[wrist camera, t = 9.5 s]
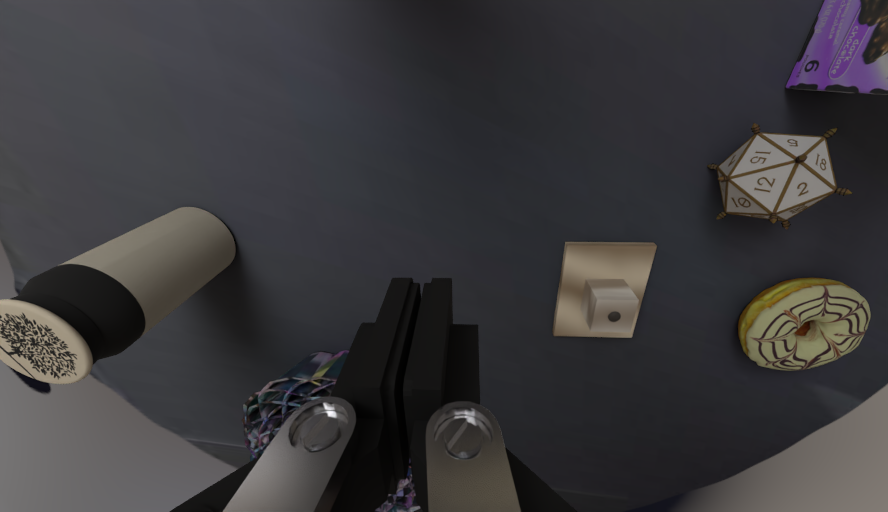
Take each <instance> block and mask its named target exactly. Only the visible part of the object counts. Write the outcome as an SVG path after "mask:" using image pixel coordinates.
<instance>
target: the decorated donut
mask: <svg viewBox="0 0 888 512" xmlns="http://www.w3.org/2000/svg"><path fill="white" fill-rule="evenodd" d="M870 317H871V315H870V309H869V305H868V303H867V301H866V300H865V298H863V297H862V296H861V295H860V294H859V293H858V292H857V291H855V290H854V289H852V288H850V287H849V286H847V285H845V284H844V283H841V282H839V281H835V280H830V279H824V278H797V279H793V280H786V281H783V282H780V283H778V284H776V285H775V286H772V287H771V288H768V289H765V290H764V291H762V292H761V293H759V295H757V296H756V297H754V298H753V300H752V301H751V302H750V303H749V304H748V305H747V306H746V308H745V309H744V311H743V312H742V314H741V316H740V319H739V323H738V335H739V339H740V342H741V345H742V347H743V351H744V352H745V354H746V355H747V356H748V357H749V358H750V359H751V360H753V361H756V362H757V365H759V366H762V367H767V368H772V369H778V370H804V369H809V368H813V367H817V366H821V365H824V364H827V363H829V362H832V361H834V360H837V359H838V358H840V357H841V356H843V355H845V354H847V353H849V352H851V351H852V350H854V349H855V348H856V347H857V346H858V345H859V343H860V341H861V339H862V338H863V336H864V333H865V332H866V330H867V326H868V323H869V320H870Z"/></svg>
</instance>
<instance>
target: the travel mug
mask: <svg viewBox="0 0 888 512" xmlns="http://www.w3.org/2000/svg"><path fill="white" fill-rule="evenodd" d="M235 252H236V248H235V242H234V239H233V237H232V235H231V233H230V231H229V230H228V228H227V227H226V226H225V225H224V223H223V222H222V221H220V220H219V219H218V218H217V217H215V216H214V215H212V214H211V213H209V212H207V211H205V210H202V209H199V208H194V207H182V208H178V209H176V210H174V211H172V212H170V213H168V214H166V215H163V216H161V217H159V218H157V219H155V220H153V221H151V222H149V223H147V224H145V225H142V226H140V227H138V228H136V229H134V230H132V231H130V232H128V233H126V234H124V235H121V236H119V237H117V238H115V239H113V240H111V241H109V242H107V243H105V244H103V245H100V246H98V247H96V248H94V249H92V250H90V251H88V252H86V253H84V254H82V255H79V256H77V257H75V258H73V259H71V260H69V261H67V262H65V263H63V264H61V265H58V266H56V267H54V268H52V269H50V270H48V271H46V272H44V273H42V274H40V275H37V276H35V277H33V278H32V279H30V280H29V281H28V282H27V284H26V285H25V287H24V288H23V290H22V291H21V293H20V294H19V295H18V296H17V297H14V298H11V299H8V300H7V299H3V300H0V360H2V361H3V362H4V363H6V364H7V365H8V366H10V367H12V368H13V369H15V370H17V371H18V372H20V373H22V374H24V375H27V376H29V377H31V378H34V379H37V380H40V381H43V382H48V383H54V384H70V383H75V382H78V381H80V380H82V379H83V378H85V377H86V376H87V375H88V374H89V373H90V371H91V369H92V365H93V364H94V363H95V362H96V361H97V360H99V359H102V358H106V357H110V356H114V355H117V354H119V353H121V352H122V351H124V350H125V349H126V348H128V347H129V346H130V345H131V344H132V343H134V342H135V341H136V340H137V339H139V338H140V337H141V336H142V335H144V334H145V333H146V332H147V331H149V330H150V329H151V328H152V327H153V326H155V325H156V324H157V323H158V322H160V321H161V320H162V319H163V318H165V317H166V316H167V315H168V314H170V313H171V312H172V311H173V310H174V309H176V308H177V307H178V306H179V305H181V304H182V303H183V302H184V301H186V300H187V299H188V298H189V297H191V296H192V295H193V294H194V293H195V292H197V291H198V290H199V289H200V288H202V287H203V286H204V285H205V284H207V283H208V282H209V281H210V280H212V279H213V278H214V277H215V276H216V275H218V274H219V273H220V272H221V271H223V270H224V269H225V268H226V267H228V266H229V265H230V264H231V263H232V261H233V259H234V257H235Z"/></svg>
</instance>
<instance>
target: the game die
mask: <svg viewBox="0 0 888 512" xmlns="http://www.w3.org/2000/svg"><path fill="white" fill-rule="evenodd" d="M759 127H760V126H759V125H757V124H755V123H754V124H753V126H752V128H751V129H752V132H754V135H753V136H752V137H751V138H750V139H749V140H747V141H746V142H745V143H744V144H743V145H742V146H741V147H739V148H738V149H737V150H736V151H735V152H734V153H733V154H731V155H730V156H729V157H728V158H727V159H726V160H725V161H723V162H722V163H721V164H720V165H719V166H717V165H716V164H714V163H713V164H711V165H707V166H708V167H709V168H710V169H713V170H714V169H717V173H718V180H719V185H720V191H721V196H722V202H723V208H724V212H722V213H721V212H720V214H717V215H718V216H717V219H723V217H725V215H726V214H733V215H741V216H748V217H755V218H763V219H769V221H770V222H772V223H773V224H774V223H775V222H776V221H782V223H781V224H782V227H784V228H786V229H788V227H789V226H790V225H791V224H789V223H790V222H788V221H787V220H788V219H790V218H791V217H793V216H795V215H797V214H798V213H800V212H802V211H803V210H805V209H807V208H809V207H810V206H812V205H814V204H816V203H817V202H819V201H821V200H823V199H824V198H826V197H828V196H830V195H831V194H833V193H838V194H839V195H840V194H841V195H843V196H844V195H848V194H852V192H850V191H849V190H848V189H844V188H837V185H836V180H835V176H834V171H833V167H832V163H831V158H830V154H829V150H828V145H827V141H826V139H827V138H829V137H832V135H835V132H836V130H837V128H838V127H837V128H834V129H830V130H829V129H828V131H827V132H825V134H824V135H823V136H811V135H795V134H779V133H763V132H759V131H760V128H759Z"/></svg>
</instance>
